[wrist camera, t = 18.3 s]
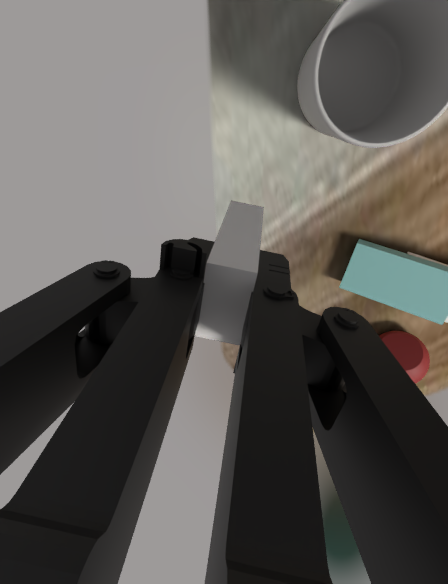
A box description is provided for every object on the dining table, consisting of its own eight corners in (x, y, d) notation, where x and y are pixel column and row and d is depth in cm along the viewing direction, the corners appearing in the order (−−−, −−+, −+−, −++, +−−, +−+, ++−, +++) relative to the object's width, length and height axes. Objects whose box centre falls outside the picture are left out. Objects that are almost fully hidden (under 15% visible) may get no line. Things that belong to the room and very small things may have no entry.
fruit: (360, 349, 43) (379, 413, 39) (362, 330, 39) (383, 401, 34) (412, 341, 42) (437, 407, 37) (421, 321, 37) (450, 393, 33)
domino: (339, 287, 35) (442, 324, 32) (357, 243, 33) (470, 279, 30) (341, 281, 37) (440, 316, 34) (359, 238, 34) (467, 272, 31)
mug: (293, 139, 31) (306, 152, 21) (299, 21, 27) (318, -28, 17) (434, 133, 29) (515, 145, 20) (462, 8, 26) (580, -53, 16)
